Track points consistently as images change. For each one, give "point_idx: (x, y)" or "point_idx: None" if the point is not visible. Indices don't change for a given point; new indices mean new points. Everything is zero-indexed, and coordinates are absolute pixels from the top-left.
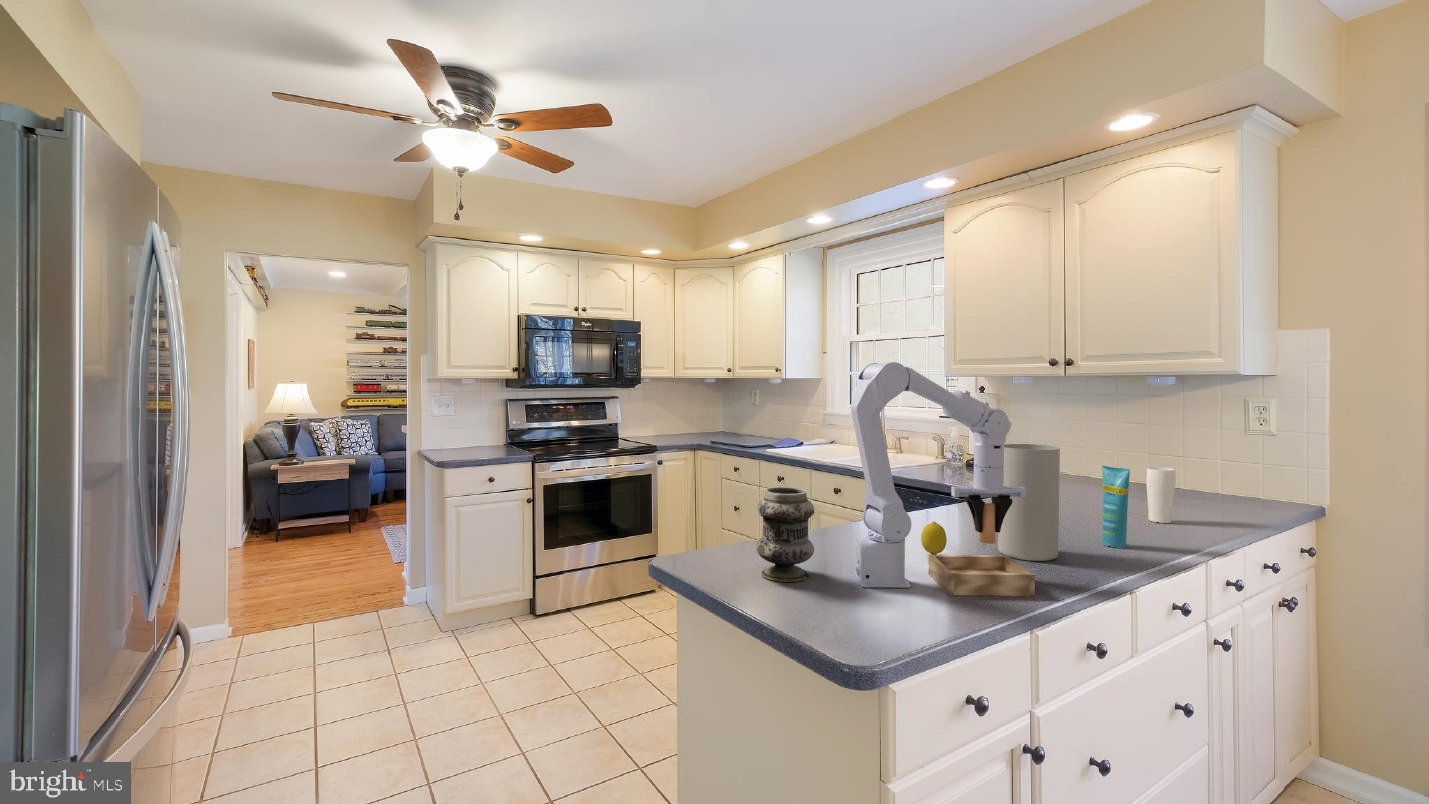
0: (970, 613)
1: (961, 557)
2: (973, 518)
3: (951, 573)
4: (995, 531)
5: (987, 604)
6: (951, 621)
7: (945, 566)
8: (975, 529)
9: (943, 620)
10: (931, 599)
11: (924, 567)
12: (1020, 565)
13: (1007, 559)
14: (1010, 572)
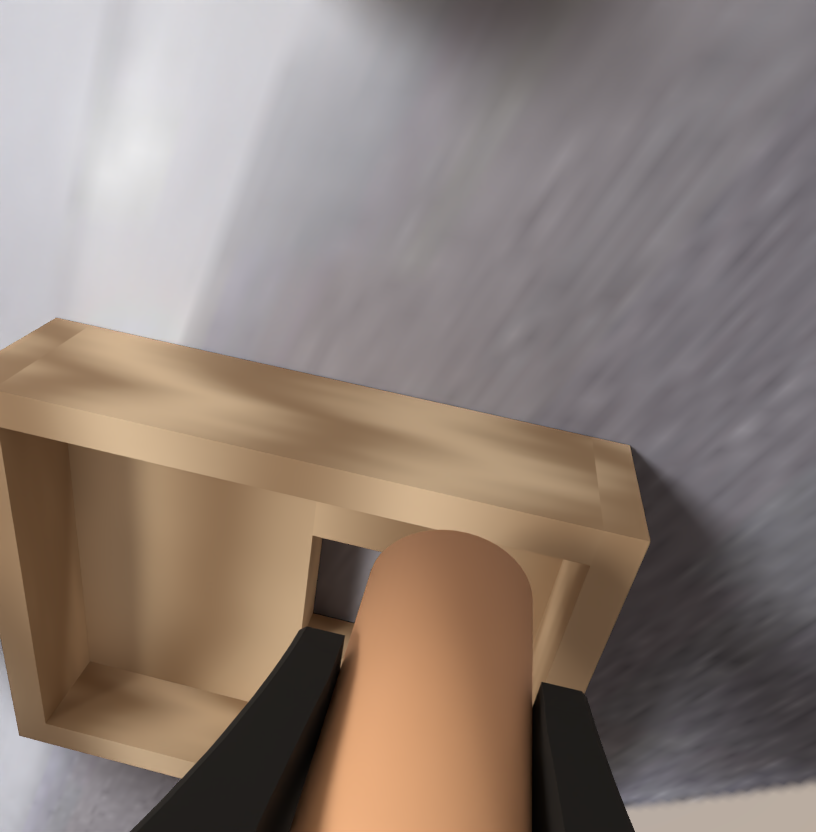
0: (125, 792)
1: (222, 474)
2: (216, 755)
3: (38, 733)
4: None
5: None
6: (37, 815)
7: (30, 636)
8: (295, 641)
9: (12, 803)
10: (2, 658)
11: (58, 142)
12: None
13: (566, 627)
14: (547, 609)
